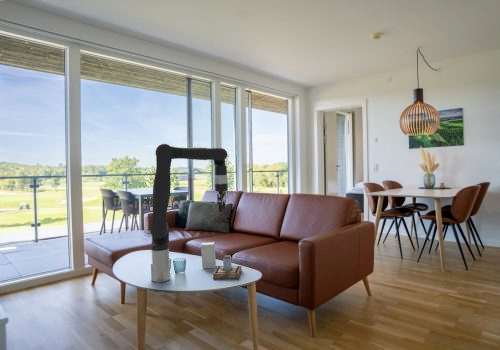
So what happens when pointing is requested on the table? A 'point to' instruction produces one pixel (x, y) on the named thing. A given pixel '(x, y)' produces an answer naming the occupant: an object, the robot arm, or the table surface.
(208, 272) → the table surface
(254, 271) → the table surface
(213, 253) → the skincare box
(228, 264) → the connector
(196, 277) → the table surface
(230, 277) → the walnut box
